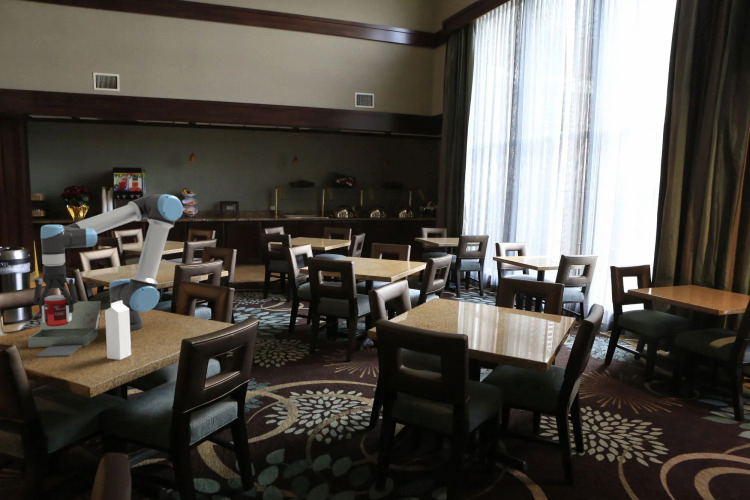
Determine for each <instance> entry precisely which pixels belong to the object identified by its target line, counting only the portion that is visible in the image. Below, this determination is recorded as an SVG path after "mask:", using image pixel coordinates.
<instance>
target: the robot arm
mask: <svg viewBox="0 0 750 500" xmlns="http://www.w3.org/2000/svg"><path fill="white" fill-rule="evenodd" d="M183 207H184V206H183V204H182V201H181V200H180V199H179V198H178V197H177V196H175V195H172V194H168V193H164V194H162V193H161V194H158V193H157V194H156V193H151V194H148V195H144V196H141V197H139V198H137V199H134V200H131V201H128V202H127V204H126V205H124V206H123V205H122V206H121V207H118V208H115V209H112V210H109V211H106V212H103V213H100V214H98V215H94V216H91V217H88V218H85V219H82V220H79V221H77V222H75V223H72V224H69V225H62V224H45V225H42V226H41V227H40V241H41V243H40V244H41V259H42V263H41V264H43V266H42V274H43V277H42V278H37V279H34V285H35V287H34V293H33V295H34V297H33V305H38V307H39V313H40V314H41V318H43V322H46V319H45V305H44V298H46V297H48V296H50V295H49V294H50V293H51V290H52V289H58V290H59V291H60V292H61V295H63V296H64V297H65V300H66V301H67V303H68V305H66V315H67V322H69V321H71V320H72V315H71V313H72V312H73V311H74V306H73V305H74V304H75V303H77V302H79V301H80V300H79V297H78V293H77V289H76V284H75V283H76V278H75V277H73V278H69V277H67V269H66V253H65V252H66V251H65V249H70V248H71V249H75V248H89V247H94V246H96V244H97V242H98V234H101V233H103V232H105V231H108V230H111V229H114V228H117V227H119V226H122V225H126V224H128V223H132V222H133V221H135V222H139V221H142V220H147V222H148V223H149V225H148V229H147V231H146V236H145V238H144V243H143V247H142V251H141V253H140V257H139V261H138V264H137V268H136V271H135V275H133V276H132V277H130V278H122V279H114V280H111V281H110V282H109V287H108V290H109V303H110V304H109V305H110V307H109V308H111V303H114V302H117V301H121V300H122V301H123V304H124V305H125V306H126V307H128V308H129V318H130V332H131V331H135V330H139V329H142V328H143V327H144V321H143V318H142V315H141V313H140V312H145V313H146V312H148V311H151V310H152V309H154V308H155V307H156V306H157V304H158V303H159V300H160V294H159V292H158V289H157V288H158V281H157V280H156V279H157V275H158V272H159V268H160V264H161V260H162V257H163V254H164V250H165V249H164V248H165V246H166V243H167V239H168V235H169V231H170V230H171V228H174V227H175V223H176V221H178V220H179V219H180V218H181V217H182V215H183V213H184V212H183V211H184V208H183ZM66 282H67V284H68V288H69V290H68V289H67V286H66ZM43 283H44V284H45V286H44V290H43V292H42V287H43V285H42V284H43ZM41 294H42V295H41Z"/></svg>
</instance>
